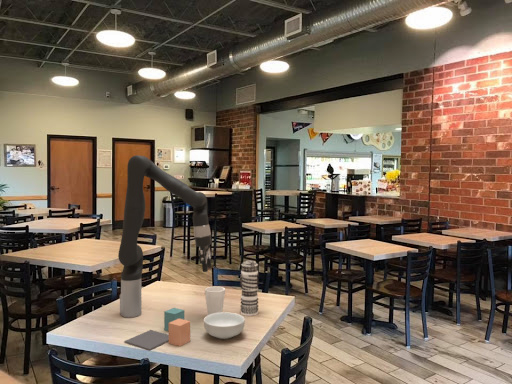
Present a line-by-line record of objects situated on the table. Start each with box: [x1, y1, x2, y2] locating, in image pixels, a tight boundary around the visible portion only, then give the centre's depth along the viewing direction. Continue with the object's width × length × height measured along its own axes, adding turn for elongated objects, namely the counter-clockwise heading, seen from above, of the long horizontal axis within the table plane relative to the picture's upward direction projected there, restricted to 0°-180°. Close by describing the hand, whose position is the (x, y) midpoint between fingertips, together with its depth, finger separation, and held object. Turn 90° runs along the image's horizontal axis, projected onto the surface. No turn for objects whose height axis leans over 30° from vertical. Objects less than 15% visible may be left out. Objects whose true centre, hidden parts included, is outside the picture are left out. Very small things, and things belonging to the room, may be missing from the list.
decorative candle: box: [239, 259, 260, 317], centre depth 197 cm, size 9×9×25 cm
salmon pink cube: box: [168, 319, 191, 347], centre depth 162 cm, size 6×6×8 cm
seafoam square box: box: [163, 307, 185, 332], centre depth 176 cm, size 6×6×8 cm
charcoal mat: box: [123, 329, 169, 351], centre depth 164 cm, size 14×14×1 cm
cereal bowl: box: [203, 311, 246, 340], centre depth 169 cm, size 17×17×7 cm
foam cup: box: [204, 285, 226, 316], centre depth 192 cm, size 10×9×13 cm
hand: (207, 269), depth 190 cm, fingers open, 8 cm apart
